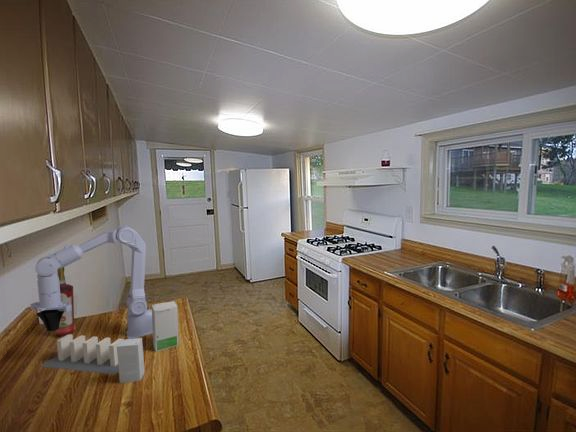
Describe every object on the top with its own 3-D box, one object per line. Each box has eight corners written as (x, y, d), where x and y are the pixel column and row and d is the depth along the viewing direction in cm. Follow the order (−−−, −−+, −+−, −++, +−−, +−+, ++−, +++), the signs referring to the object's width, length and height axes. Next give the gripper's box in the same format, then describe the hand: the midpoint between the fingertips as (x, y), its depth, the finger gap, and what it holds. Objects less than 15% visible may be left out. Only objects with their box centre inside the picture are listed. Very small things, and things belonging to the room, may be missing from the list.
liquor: (52, 340, 114) (46, 269, 111) (56, 332, 120) (49, 265, 117) (75, 335, 117) (69, 267, 114) (78, 327, 124) (72, 263, 121)
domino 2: (71, 361, 98) (69, 341, 98) (82, 354, 103) (81, 335, 102) (75, 362, 98) (73, 342, 97) (86, 354, 102) (85, 335, 102)
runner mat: (39, 367, 96) (39, 366, 96) (72, 347, 108) (72, 346, 108) (114, 375, 91) (114, 374, 91) (140, 354, 103) (140, 353, 103)
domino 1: (58, 360, 99) (56, 340, 98) (70, 353, 103) (68, 334, 103) (62, 360, 99) (60, 341, 98) (74, 353, 103) (72, 334, 102)
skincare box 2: (155, 353, 104) (152, 311, 102) (152, 344, 109) (150, 304, 108) (179, 346, 108) (177, 305, 107) (176, 338, 114) (174, 299, 112)
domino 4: (97, 364, 97) (95, 344, 96) (107, 356, 101) (106, 337, 100) (101, 364, 96) (99, 344, 96) (111, 357, 101) (110, 337, 100)
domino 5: (110, 365, 96) (109, 345, 95) (120, 358, 100) (119, 338, 99) (114, 366, 95) (113, 345, 95) (124, 358, 100) (123, 338, 99)
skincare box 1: (145, 373, 92) (142, 337, 91) (140, 382, 88) (138, 344, 87) (124, 375, 91) (121, 339, 90) (119, 384, 87) (116, 346, 86)
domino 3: (84, 362, 97) (82, 343, 97) (95, 355, 102) (93, 336, 101) (88, 363, 97) (86, 343, 96) (99, 355, 101) (97, 336, 101)
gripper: (19, 295, 97) (23, 334, 98) (56, 297, 94) (60, 337, 96) (40, 287, 104) (44, 324, 105) (75, 289, 101) (78, 327, 103)
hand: (53, 330), depth 101 cm, fingers closed
